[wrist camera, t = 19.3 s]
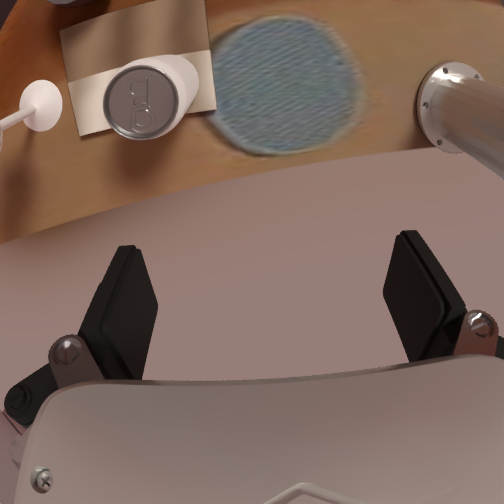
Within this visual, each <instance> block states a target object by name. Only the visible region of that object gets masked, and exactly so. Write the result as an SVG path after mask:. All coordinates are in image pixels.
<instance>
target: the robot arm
mask: <svg viewBox="0 0 504 504" xmlns="http://www.w3.org/2000/svg"><path fill="white" fill-rule="evenodd" d="M423 103H424V104H423ZM417 115H418V120H419V124H420V126H421V129H422V131H423V133H424V135H425V136H426V138H427V139H428V140H429V141H430V142H431V143H432V144H433V145H434V146H436V147H437V148H439V149H441V150H442V151H444V152H448V153H461V152H466V153H467V154H469V155H470V156H472V157H473V158H475V159H476V160H477V161H479V162H480V163H482V164H483V165H485V166H486V167H487V168H489V169H490V170H492V171H493V172H494V173H496V174H497V175H498V176H500V177H501V178H502V179H504V88H503V87H500V86H497V85H494V84H491V83H488V82H485V81H484V79H483V78H482V76H481V75H480V74H479V73H478V72H477V71H476V70H475V69H474V68H472V67H471V66H469V65H467V64H464V63H461V62H456V61H447V62H444V63H441V64H439V65H437V66H435V67H434V68H433V69H432V70H431V71H430V72H429V73H428V74H427V75H426V77H425V78H424V80H423V82H422V84H421V86H420V89H419V93H418V98H417ZM383 297H384V299H385V302H386V304H387V306H388V309H389V311H390V314H391V316H392V319H393V321H394V324H395V326H396V329H397V331H398V334H399V336H400V338H401V341H402V344H403V347H404V349H405V352H406V354H407V357H408V360H409V363H404V364H397V365H391V366H385V367H378V368H372V369H364V370H357V371H349V372H341V373H332V374H322V375H312V376H302V377H289V378H274V379H256V380H231V381H230V380H229V381H160V380H142V376H143V372H144V367H145V362H146V358H147V353H148V349H149V344H150V340H151V336H152V332H153V328H154V323H155V319H156V315H157V311H158V303H157V300H156V296H155V294H154V291H153V287H152V284H151V281H150V278H149V275H148V272H147V269H146V265H145V262H144V259H143V256H142V253H141V250H140V249H136V247H135V246H134V245H127V246H119V247H118V249H117V251H116V253H115V255H114V257H113V259H112V261H111V263H110V266H109V267H108V269H107V272H106V274H105V276H104V278H103V280H102V282H101V283H100V284H99V286H98V288H97V290H96V292H95V295H94V297H93V299H92V301H91V303H90V306H89V308H88V310H87V313H86V315H85V317H84V320H83V322H82V325H81V327H80V329H79V332H78V334H77V335H74V334H70V335H65V336H63V337H61V338H59V339H58V340H56V341H55V342H54V343H53V345H52V346H51V348H50V350H49V353H48V360H49V363H48V364H46V365H45V366H43V367H42V368H40V369H39V370H37V371H36V372H34V373H33V374H31V375H30V376H28V377H27V378H25V379H23V380H22V381H20V382H19V383H18V384H16V385H14V386H13V387H12V388H11V389H10V390H9V391H8V393H7V395H6V397H5V401H4V407H5V409H4V410H3V412H2V411H1V410H0V501H1V503H2V504H504V338H502V337H501V336H499V335H498V334H499V328H498V325H497V322H496V321H495V319H494V318H493V317H492V316H491V315H490V314H488V313H486V312H485V311H481V310H471V311H469V312H468V311H467V309H466V308H465V306H466V305H465V303H464V301H463V300H462V298H461V297H460V295H459V293H458V291H457V290H456V288H455V287H454V285H453V283H452V282H451V280H450V279H449V277H448V276H447V274H446V272H445V271H444V269H443V268H442V266H441V265H440V263H439V262H438V261H437V259H436V257H435V256H434V255H433V253H432V251H431V250H430V249H429V247H428V246H427V244H426V243H425V241H424V240H423V238H422V237H421V236H420V234H419V233H418V232H417V231H416V230H407V231H401V233H400V235H397V236H396V239H395V244H394V248H393V252H392V257H391V260H390V265H389V268H388V272H387V276H386V280H385V284H384V288H383Z"/></svg>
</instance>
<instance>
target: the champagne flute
mask: <svg viewBox="0 0 504 504" xmlns="http://www.w3.org/2000/svg"><path fill="white" fill-rule="evenodd" d="M61 112H62V97H61V94H60V92H59V90H58V88H57V87H56V86H55V85H54V84H53V83H51V82H49V81H47V80H37V81H35V82H33V83H31V84H30V85H29V86H28V87H27V88H26V89H25V90H24V92H23V94H22V96H21V100H20V111H18V112H16V113H14V114H12V115H10V116H8V117H6V118H4V119H2V120H0V152H1V148H2V142H3V134H2V131H3V130H5V129H7V128H9V127H11V126H12V125H14V124H16V123H18V122H20V121H21V120H23V121H24V123H25V124H26V125H27V126H28V127H29V128H30V129H32V130H34V131H39V132H41V131H46V130H49V129H50V128H52V127H53V126H54V125H55V124H56V123H57V121H58V120H59V118H60V115H61Z"/></svg>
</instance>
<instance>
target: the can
mask: <svg viewBox="0 0 504 504" xmlns="http://www.w3.org/2000/svg"><path fill="white" fill-rule="evenodd" d="M198 88H199V77H198V73H197V71H196V69H195V67H194V66H193V65H192V64H191V63H190V62H189V61H188V60H187V59H185V58H183V57H181V56H177V55H160V56H154V57H148V58H143V59H139V60H135V61H133V62H130V63H128V64H127V65H125V66H123V67H122V68H121V69H120V70H118V71H117V72H116V74H115V75H114V76H113V77H112V79H111V81H110V82H109V84H108V86H107V88H106V90H105V93H104V97H103V112H104V115H105V118H106V120H107V122H108V124H109V125H110V127H111V128H112V129H113V130H114V131H115V132H116V133H118V134H119V135H121V136H123V137H125V138H127V139H131V140H148V139H153V138H157V137H160V136H162V135H164V134H166V133H168V132H169V131H170V130H172V129H173V128H174V127H175V126H176V125H177V124H178V123H179V121H180V120H181V119H182V117H183V116H184V114H185V113H186V111H187V110H188V108H189V106H190V105H191V103H192V102H193V100H194V98H195V96H196V94H197V92H198Z"/></svg>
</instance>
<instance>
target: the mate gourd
mask: <svg viewBox="0 0 504 504" xmlns="http://www.w3.org/2000/svg"><path fill="white" fill-rule="evenodd" d="M48 1H49V2H51V3H53V4H55V5H57V6H60V7H78V6H80V5H83V4H86V3H88V2H91V1H93V0H48Z"/></svg>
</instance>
